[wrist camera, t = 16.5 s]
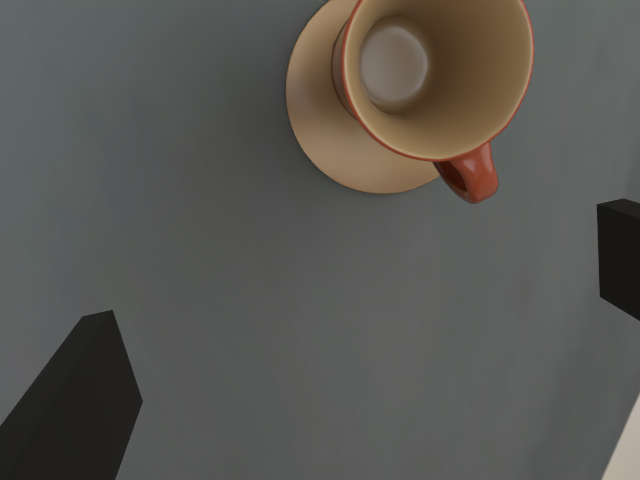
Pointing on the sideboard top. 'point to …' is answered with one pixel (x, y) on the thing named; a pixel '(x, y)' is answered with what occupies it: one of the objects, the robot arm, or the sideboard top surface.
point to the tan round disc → (340, 116)
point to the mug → (436, 80)
